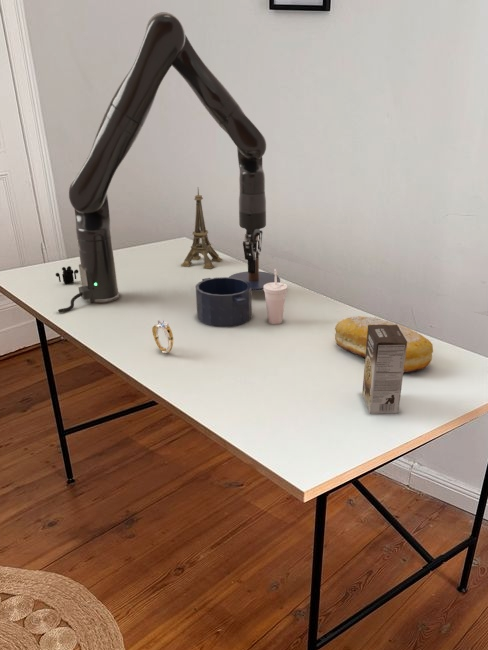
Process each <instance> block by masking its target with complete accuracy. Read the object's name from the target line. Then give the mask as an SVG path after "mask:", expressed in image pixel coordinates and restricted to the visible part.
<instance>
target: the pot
mask: <svg viewBox="0 0 488 650" xmlns="http://www.w3.org/2000/svg"><path fill="white" fill-rule="evenodd" d="M252 297H253V296H252V290H251V285H250V283H249V282H247V281H245V280H242V279H238V278H229V276H228V277H227V276H223V277H206V278H201V280H200V281H199V282H198V283H197V284H196V285H195V298H196V299H195V301H196V316H197V320H198V321H199V322H200V323H202V324H204V325H205V326H209V327H215V328H231V327H238V326H241V325H245V324H246V323H248V322H249V321H250V320H251V319H252V316H253V306H252V305H253V304H252V301H253V300H252Z"/></svg>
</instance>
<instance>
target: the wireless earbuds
mask: <svg viewBox="0 0 488 650" xmlns="http://www.w3.org/2000/svg"><path fill="white" fill-rule="evenodd" d="M61 271H62V274H60V273H59V272H56V273H55V277H57V278H58V282H59V283H61V282H63V283H64V284H66V285H67V284H73V283H74V280H77V274H79V273H80V270H79V269H74V270H73V269H72V266H70V265H68V266H67V267H66V266H63V267H61ZM61 276H62V280H61Z"/></svg>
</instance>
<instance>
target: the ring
mask: <svg viewBox="0 0 488 650" xmlns="http://www.w3.org/2000/svg"><path fill="white" fill-rule="evenodd" d="M169 325H170V324H169V322H168V321H165V320H164V319H162V321H160V319H159V320H157V323H156V324H154V325H153V326H152V327H151V329H152V331H151V332H152V336H153V339H154V341H155V345H156V347H158V349H159V350H160V351H161V353H162V354H167V353H170V352H172V350H173V347H174V336H173V331H172V329H171V327H170V326H169ZM159 329H160V330H162V332H163V333H164V334H165V336H166V339H167V348H166V347H164V346H163V345H162V343H161V341H160V338H159Z"/></svg>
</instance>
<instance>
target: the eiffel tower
mask: <svg viewBox="0 0 488 650" xmlns="http://www.w3.org/2000/svg"><path fill="white" fill-rule="evenodd" d="M203 199H204V197H203V195H200V189H199V188H197V194H196V195H195V196H194V198H193V200H194V201H196V202H195V221H194V231H192V235H193V238H192V244H191V246H190V250H189V251H188V253H187V256H185V259H184V260H183V262H182V263H181V264H180V266H181V267H188V268H189V267H190V266H192V265H193V263H192V260H197V261H198V260H200V258H201V255H202V256H203V262H204V265H203V269H207V270H213V268H214V267H215V265H214V264H213V262H214V263H215V262H216V263H220V262H222V261H223V258H222V257H220V255H219V253H217V252H216V250H215V249H214V247H212V243H210V241H209V236H208V234H209V231H208V229H207V228H206V223H205V217H204V211H203V205H202V200H203ZM200 240H201V241H200ZM200 242H201V243H200ZM200 254H201V255H200ZM208 254H209V256H210V257H211V259H210V257H209V256H208Z"/></svg>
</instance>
